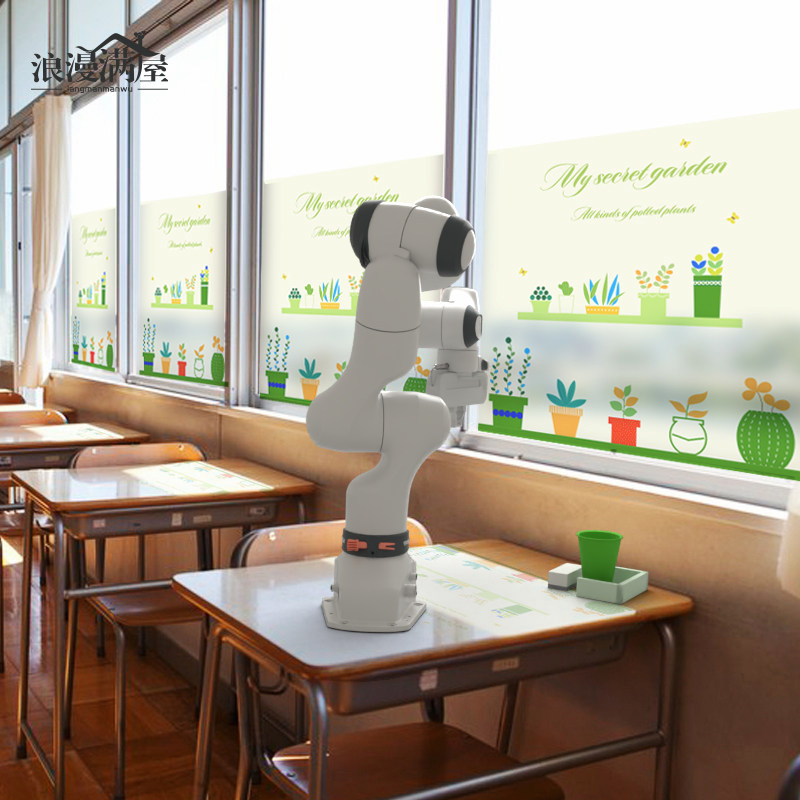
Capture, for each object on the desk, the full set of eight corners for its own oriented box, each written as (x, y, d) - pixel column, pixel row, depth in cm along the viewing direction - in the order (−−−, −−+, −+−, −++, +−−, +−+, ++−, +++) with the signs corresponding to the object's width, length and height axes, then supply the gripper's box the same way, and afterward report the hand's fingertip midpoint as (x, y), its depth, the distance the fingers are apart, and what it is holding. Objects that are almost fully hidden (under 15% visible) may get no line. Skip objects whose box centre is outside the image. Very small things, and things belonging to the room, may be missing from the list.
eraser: (566, 592, 204) (567, 574, 203) (547, 588, 206) (548, 571, 205) (584, 582, 211) (585, 565, 211) (565, 579, 213) (566, 562, 213)
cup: (564, 588, 205) (566, 533, 204) (592, 581, 211) (594, 528, 210) (602, 598, 198) (604, 541, 198) (629, 591, 205) (632, 535, 204)
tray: (620, 604, 195) (621, 585, 195) (576, 596, 200) (576, 578, 199) (647, 589, 206) (648, 571, 206) (604, 581, 211) (605, 564, 211)
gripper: (444, 365, 214) (442, 432, 215) (493, 362, 231) (491, 424, 232) (418, 363, 218) (416, 429, 219) (468, 361, 234) (466, 422, 236)
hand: (455, 427), depth 226 cm, fingers closed
